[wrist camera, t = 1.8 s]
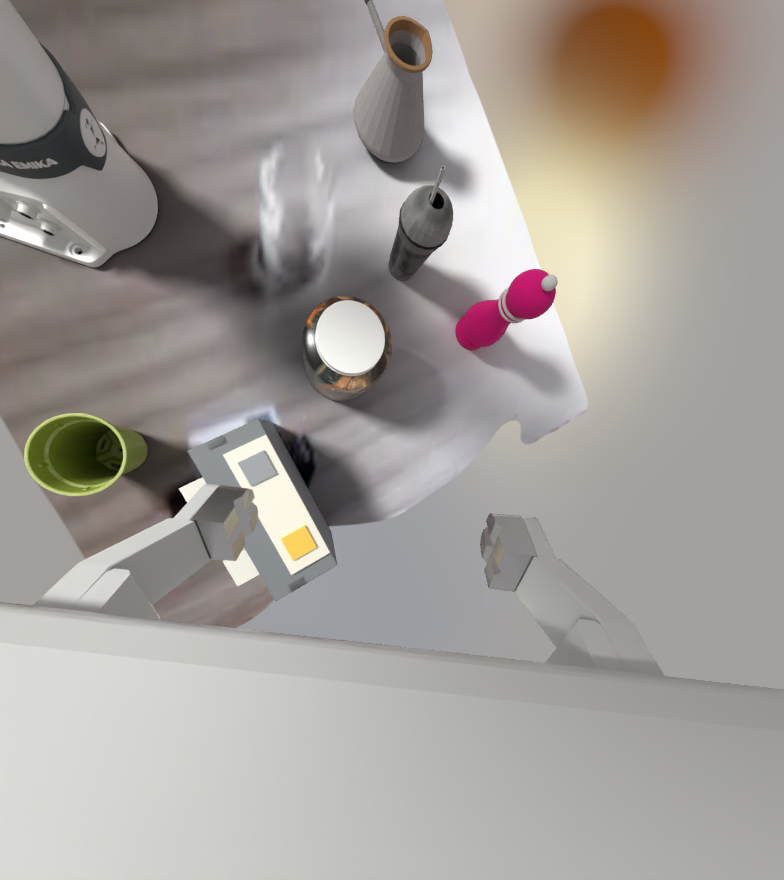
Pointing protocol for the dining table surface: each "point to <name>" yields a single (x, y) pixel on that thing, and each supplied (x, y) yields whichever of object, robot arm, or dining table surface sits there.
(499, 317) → the pepper mill
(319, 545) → the console
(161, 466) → the dining table surface
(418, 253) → the beverage cup
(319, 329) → the jar
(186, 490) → the button
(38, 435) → the plant pot
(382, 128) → the coffee pot
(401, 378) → the dining table surface
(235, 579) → the button
